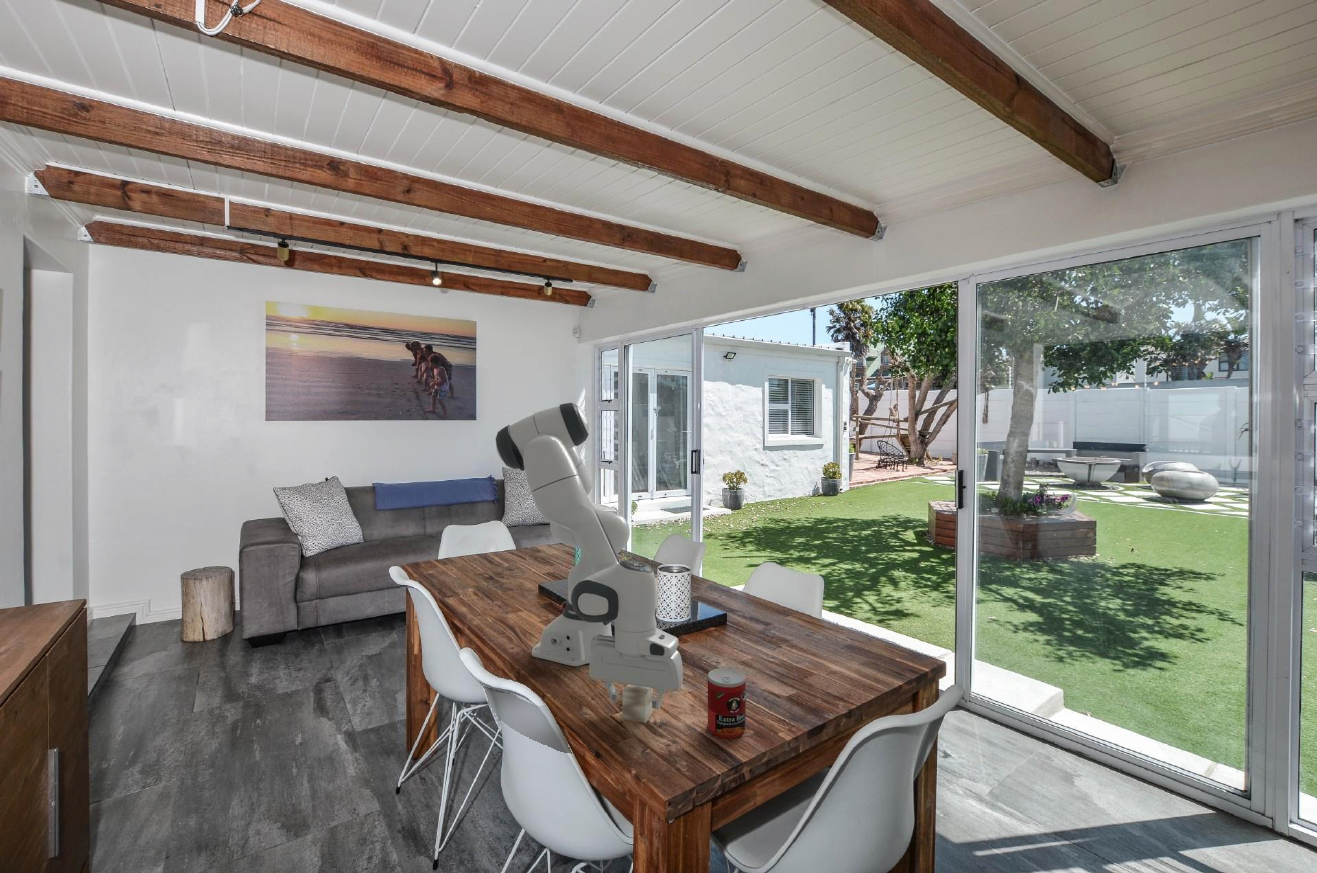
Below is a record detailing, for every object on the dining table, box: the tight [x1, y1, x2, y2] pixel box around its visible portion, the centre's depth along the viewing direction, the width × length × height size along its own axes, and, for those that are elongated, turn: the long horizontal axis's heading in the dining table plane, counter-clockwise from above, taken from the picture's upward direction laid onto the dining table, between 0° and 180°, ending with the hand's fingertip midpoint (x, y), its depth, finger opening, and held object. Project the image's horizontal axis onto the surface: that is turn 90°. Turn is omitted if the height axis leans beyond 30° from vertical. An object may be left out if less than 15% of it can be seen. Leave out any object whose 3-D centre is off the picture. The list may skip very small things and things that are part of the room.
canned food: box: [707, 667, 747, 740], centre depth 120 cm, size 8×8×11 cm
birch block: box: [622, 684, 654, 724], centre depth 126 cm, size 5×5×6 cm
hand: (635, 704), depth 125 cm, fingers open, 8 cm apart
